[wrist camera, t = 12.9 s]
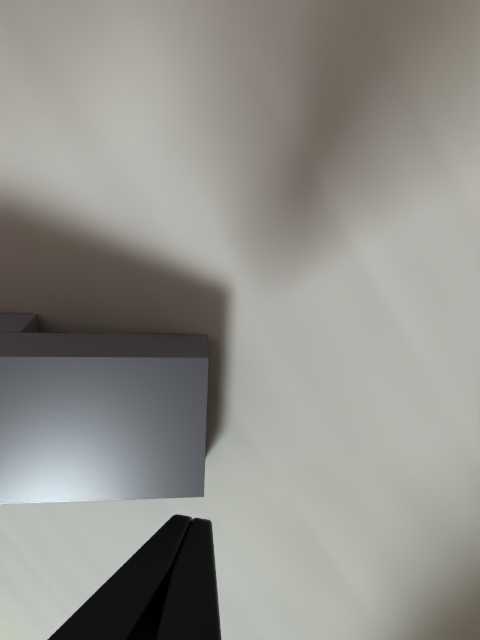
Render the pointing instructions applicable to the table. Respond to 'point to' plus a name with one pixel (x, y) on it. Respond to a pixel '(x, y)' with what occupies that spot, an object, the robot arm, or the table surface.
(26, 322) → the domino
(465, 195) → the table surface
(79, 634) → the robot arm
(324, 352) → the table surface
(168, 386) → the domino
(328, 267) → the table surface
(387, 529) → the table surface
